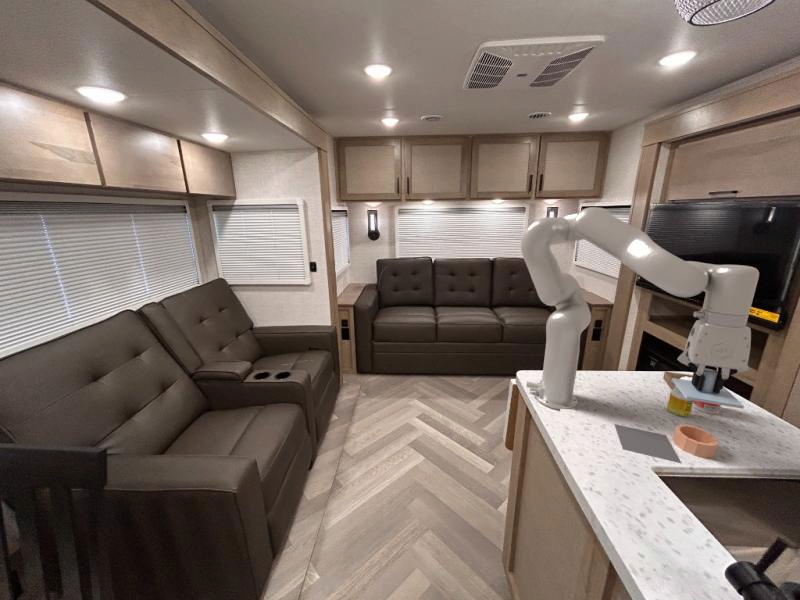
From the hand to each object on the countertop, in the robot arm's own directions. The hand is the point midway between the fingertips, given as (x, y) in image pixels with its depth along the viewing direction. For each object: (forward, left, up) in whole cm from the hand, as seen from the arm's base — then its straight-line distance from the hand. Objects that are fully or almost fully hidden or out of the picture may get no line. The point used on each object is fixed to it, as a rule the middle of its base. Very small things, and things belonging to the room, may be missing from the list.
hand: (705, 388), depth 77 cm
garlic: (+13, +38, -18) cm, 44 cm away
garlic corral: (+12, +38, -18) cm, 43 cm away
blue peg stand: (0, 0, -1) cm, 1 cm away
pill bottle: (+12, +25, -18) cm, 33 cm away
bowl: (+1, +1, -18) cm, 18 cm away
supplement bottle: (+3, +18, -18) cm, 25 cm away
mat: (-10, -2, -18) cm, 20 cm away
